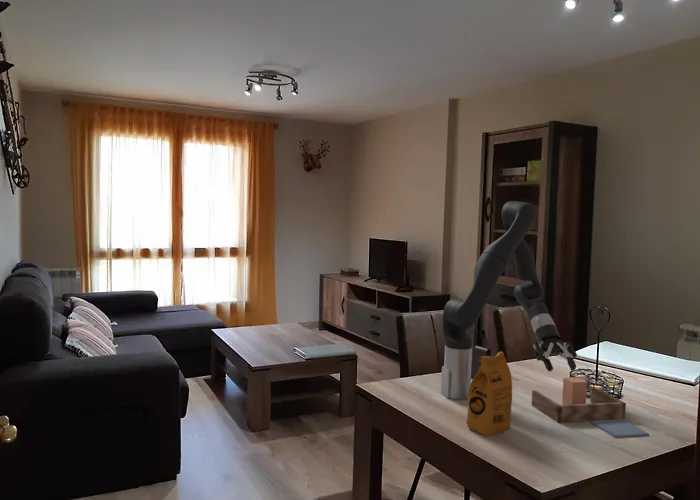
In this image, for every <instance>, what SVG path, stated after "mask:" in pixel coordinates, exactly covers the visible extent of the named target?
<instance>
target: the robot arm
mask: <svg viewBox="0 0 700 500" xmlns="http://www.w3.org/2000/svg"><path fill="white" fill-rule="evenodd" d="M537 216H538V209H537V206H536V205H535V204H533V203H532V202H524V201H516V200H510V201H507V202H506V203H505V204H504V205H503V207H502V209H501V221H502V223H503V227H504V230H505V233H504V234H503V235H502V236H500V237H499V238H497V239H496V240H495V241H493V242H492V243H490V244H489V245H488V246H486V247H485V249H484V250H483V252H482V253H481V255H480V256H479V258H478V260H477V261H476V263H475V266H474V272H473V274H474V275H473V284H472V288H471V290H470V291H469V293H468V294H467V296H466V298H465V299H463V300H461V299H457V298H452V299H449V301H447V302H446V304H444V307H443V310H442V335H443V339H444V363H443V365H442V366H441V382H440V384H441V385H440V387H441V388H440V393H441V395H443V396H444V397H445V398H446V399H453V400H468V391H469V387H470V384H471V382H472V378H471V363H472V359H473V356H472V355H473V340H472V338H471V337H470V335H469V334H468V333H467V330H469V329H471V328H473V327H474V326H475V325H476V324H477V322H478V321H479V318H480V317H481V315H482V312H483V309H484V307H485V305H486V303H487V301H488V298H489V297H490V294H491V292H492V291H493V289H494V288H495V285H496V284H497V283H498V280H499V278H500V277H502V274H503V273H504V270H505V269H506V267H507V265H508V263H509V262H510V260H511V258H512V257H513V261H514V266H515V273H516V274H515V275H516V277H517V279H518V280H521V281H527V282H525V283H521V284H518V285H516V286H515V287H514V290H513V295H514V297H515V299H516V301H517V302H518V303H519V305H520V306H521V307H522V308H523V309H524V310H525V312H526V314H527V316H528V318H529V321H530V323H531V326H532V330H533V333H534V334H535V335H534V336H535V337H536V340H537V341H535V342H534V343H533V345H532V350H533V352H534V356H535V359H536V360H537V362H538V361H540V362H541V361H542V362H543V363H544V366H545V369H546V370H547V372H552V371H553V370H554V367H553V364H552V362H551V360H550V358H549V357H550V356H559V357H561V358H562V359H563V358H564V359H565V360H566V363H567V365H568V367H569V369H570V371H571V372H572V371H573V372H574V371H575V370H576V368H577V364H576V362H575V358H576V357H577V356H578V353H577V352H576V350H575V348H574V346H573V344H572V342H571V341H569V340H568V341H566V342H563V341H562V340H561V336H560V335H561V334H560V333H559V330H558V329H557V326H556V324H555V322H554V319H553V318H552V316H551V315H550V312H549V310H548V308H547V305H546V304H545V303H544V302H542V301H539V300H542V298H543V297H544V295H545V291H544V287H543V286H542V283H541V281H540V279H539V277H538V274H537V270H536V269H537V268H536V263H535V258H534V257H535V256H534V254H533V252H532V250H531V248H530V247H529V245H528V243H527V242H526V240H525V239H524V238H525V236H526V235H527V234H528V233H529V231H530V230H531V228H532V227H533V226H534V224H535V222H536V219H537ZM542 350H543V351H544V352H543V353H542Z"/></svg>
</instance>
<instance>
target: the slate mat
mask: <svg viewBox="0 0 700 500" xmlns="http://www.w3.org/2000/svg"><path fill="white" fill-rule="evenodd" d="M589 423H590V424H592V425H593V426H595V427H596V428H598V429H600V430H602V431H603V432H605V433H607V434H608V435H610V436H612V437H613V438H616V439H618V438H631V437H645V436H646V437H648V436H650V433H649V432H647V431H645V430H643V429H642V428H639V426H638V427H637V426H635V424H632V423H630V422H629V421H627V420H625V419H612V420H595V421H589Z"/></svg>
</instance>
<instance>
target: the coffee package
mask: <svg viewBox="0 0 700 500" xmlns="http://www.w3.org/2000/svg"><path fill="white" fill-rule="evenodd" d="M478 360H479V361H481V366H480V367H479V370H478V373H477V375H476V376H475V377H474V378H473V379H471V384H470V387H469V391H468V398H467V410H466V411H467V412H466V422H465V423H466V425H467V427H468V429H469V430H473V431H475V432H476V433H478V434H480V435H483V436H486V437H491V436H493V435H494V434H497V433H499V434H500V433H502V434H503V433H505V431H507V430H508V429H510V428H511V416H512V415H511V414H512V403H513V382H512V381H513V379H512V373H511V371H510V366H509V365H508V362H507V358H506V357H505V354H504V352H503V351H499V352H497V354H496V355H495V356H491V357H487V356H484V357H482V356H480V357H479V358H478Z"/></svg>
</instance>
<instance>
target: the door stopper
mask: <svg viewBox="0 0 700 500" xmlns="http://www.w3.org/2000/svg"><path fill="white" fill-rule="evenodd" d="M473 348H474V349H473V356H472V362H471V380H473V378H474V377H475V376H476V375H477V373H478V370H479V367H480V366H481V361H479V360H478V358H479V357H480V356H482V357H484V356H487V357H492V349H491V348H488V347H485V346H480V345H475V346H474V347H473Z"/></svg>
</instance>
